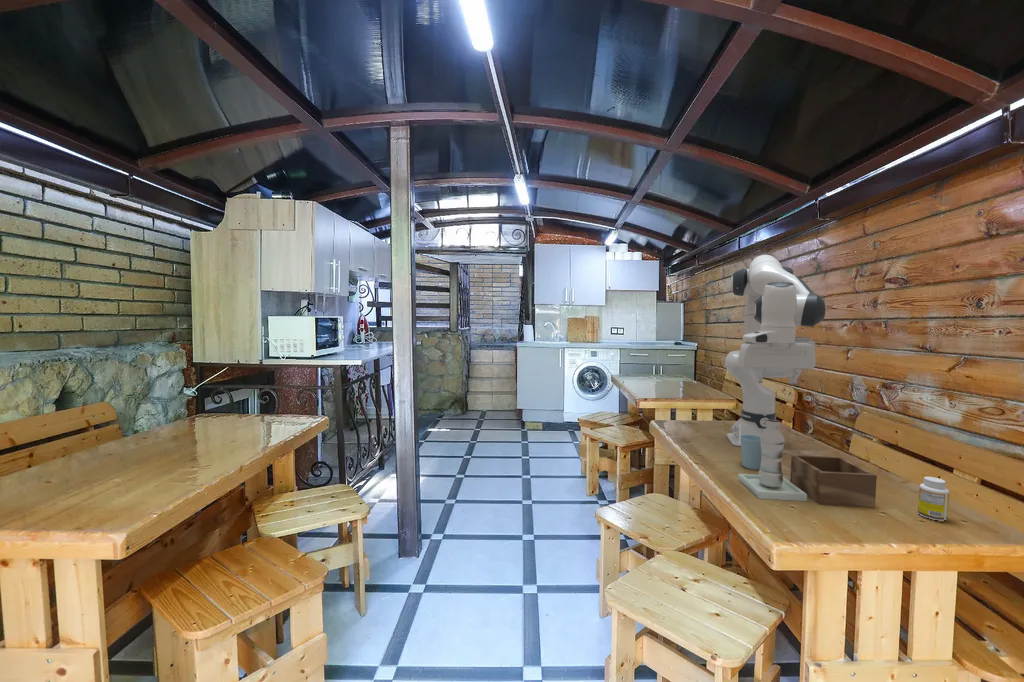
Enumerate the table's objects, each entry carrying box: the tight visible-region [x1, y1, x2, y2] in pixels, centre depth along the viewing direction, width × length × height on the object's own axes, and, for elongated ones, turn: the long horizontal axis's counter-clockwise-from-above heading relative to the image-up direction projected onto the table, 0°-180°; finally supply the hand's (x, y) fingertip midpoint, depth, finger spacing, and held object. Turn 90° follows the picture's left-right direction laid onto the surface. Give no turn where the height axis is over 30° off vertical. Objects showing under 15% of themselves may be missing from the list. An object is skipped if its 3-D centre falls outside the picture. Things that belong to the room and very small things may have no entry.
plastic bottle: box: [757, 419, 786, 488], centre depth 128 cm, size 6×7×20 cm
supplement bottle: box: [917, 476, 950, 521], centre depth 111 cm, size 6×6×10 cm
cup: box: [740, 435, 762, 471], centre depth 147 cm, size 8×8×10 cm
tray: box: [737, 473, 808, 502], centre depth 128 cm, size 14×13×2 cm
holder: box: [789, 454, 878, 508], centre depth 125 cm, size 15×14×9 cm
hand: (775, 383), depth 126 cm, fingers open, 8 cm apart
